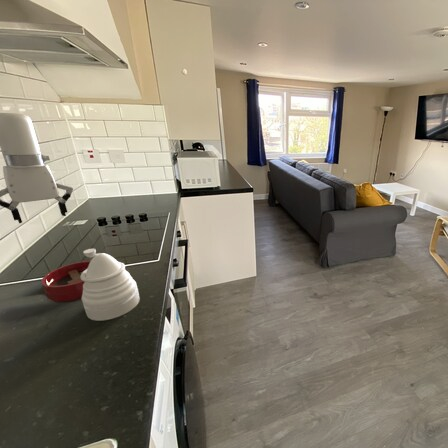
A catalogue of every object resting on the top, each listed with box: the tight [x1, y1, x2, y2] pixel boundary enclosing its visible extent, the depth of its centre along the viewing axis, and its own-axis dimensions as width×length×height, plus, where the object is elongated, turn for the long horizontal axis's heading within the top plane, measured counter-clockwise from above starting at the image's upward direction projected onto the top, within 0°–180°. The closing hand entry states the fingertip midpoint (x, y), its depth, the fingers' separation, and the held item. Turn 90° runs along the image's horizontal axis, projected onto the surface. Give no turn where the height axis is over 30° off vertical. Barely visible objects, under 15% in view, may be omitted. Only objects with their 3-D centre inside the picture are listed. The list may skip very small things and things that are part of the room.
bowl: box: [40, 260, 91, 303], centre depth 82 cm, size 15×15×6 cm
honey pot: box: [80, 248, 141, 321], centre depth 72 cm, size 13×13×18 cm
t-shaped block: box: [66, 269, 86, 285], centre depth 83 cm, size 11×5×3 cm, turn 50°
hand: (42, 218), depth 79 cm, fingers open, 9 cm apart
